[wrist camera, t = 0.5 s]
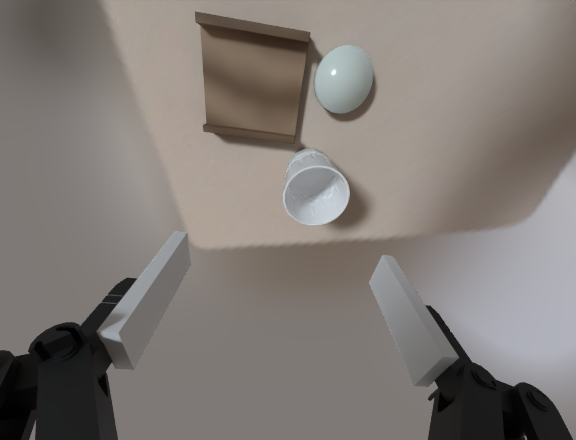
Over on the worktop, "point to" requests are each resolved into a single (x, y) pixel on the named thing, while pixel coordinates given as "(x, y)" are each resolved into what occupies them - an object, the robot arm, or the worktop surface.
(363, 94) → the pale mint domed disc
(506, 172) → the worktop surface
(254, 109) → the stand
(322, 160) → the white cup
